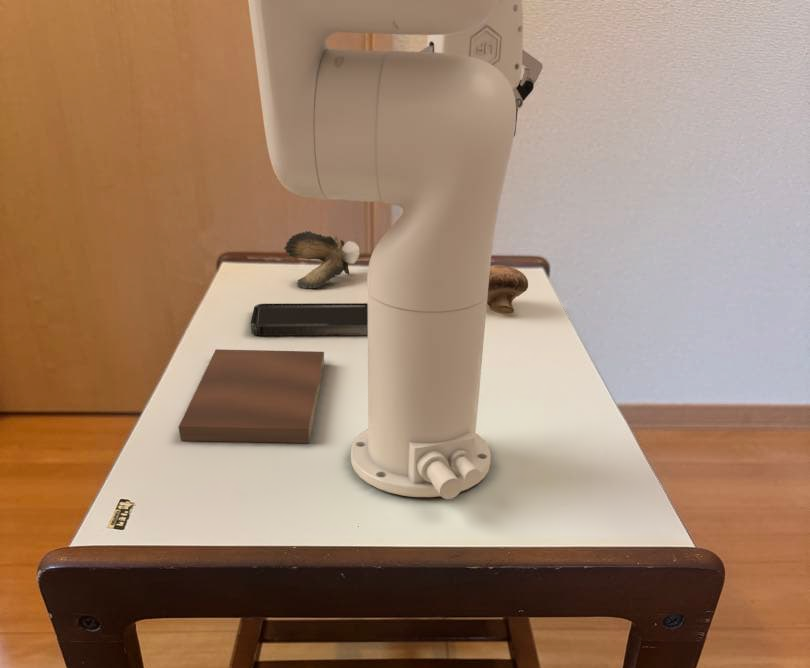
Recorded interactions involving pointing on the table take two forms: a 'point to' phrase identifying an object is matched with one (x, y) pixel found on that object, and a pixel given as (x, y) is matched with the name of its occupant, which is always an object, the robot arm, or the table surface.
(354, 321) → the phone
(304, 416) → the cutting board
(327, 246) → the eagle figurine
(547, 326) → the table surface
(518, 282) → the mushroom
